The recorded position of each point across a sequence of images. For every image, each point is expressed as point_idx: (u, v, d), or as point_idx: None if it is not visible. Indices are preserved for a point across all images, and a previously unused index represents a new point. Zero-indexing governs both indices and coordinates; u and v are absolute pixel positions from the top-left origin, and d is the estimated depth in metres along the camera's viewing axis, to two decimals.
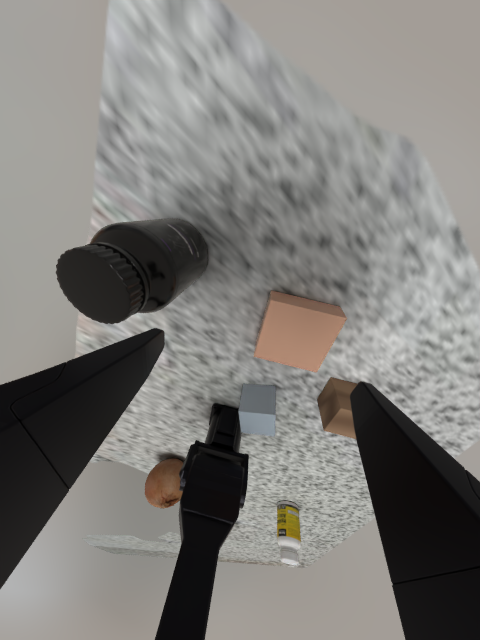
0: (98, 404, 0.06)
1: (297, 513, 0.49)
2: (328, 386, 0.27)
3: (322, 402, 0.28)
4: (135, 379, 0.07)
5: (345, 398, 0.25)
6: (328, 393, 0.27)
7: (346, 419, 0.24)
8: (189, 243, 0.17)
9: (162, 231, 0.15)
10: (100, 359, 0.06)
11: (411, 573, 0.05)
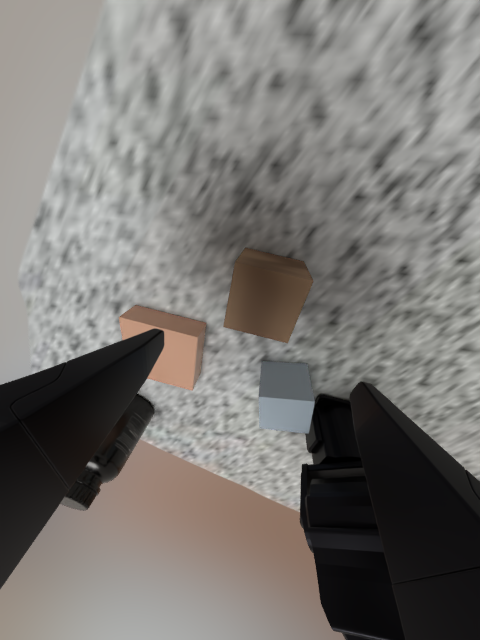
0: (98, 404, 0.06)
1: None
2: None
3: None
4: (135, 379, 0.07)
5: None
6: None
7: (250, 316, 0.14)
8: None
9: None
10: (100, 359, 0.06)
11: (411, 573, 0.05)
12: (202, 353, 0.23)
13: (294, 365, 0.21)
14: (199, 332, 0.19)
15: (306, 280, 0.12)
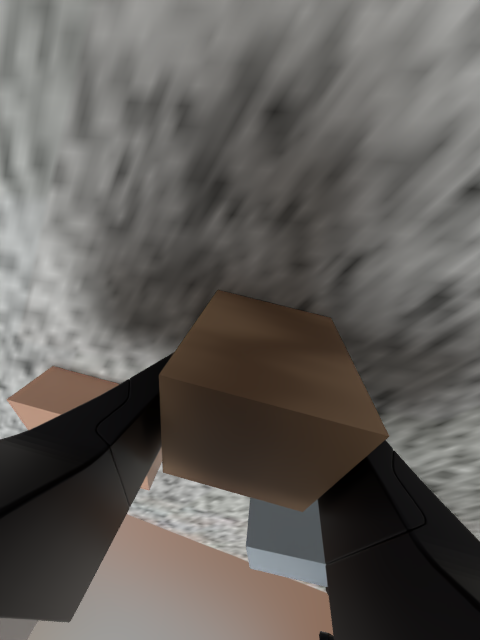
0: (159, 421, 0.06)
1: None
2: None
3: None
4: None
5: None
6: None
7: (217, 467, 0.06)
8: None
9: None
10: None
11: (339, 553, 0.05)
12: None
13: None
14: None
15: (367, 432, 0.04)
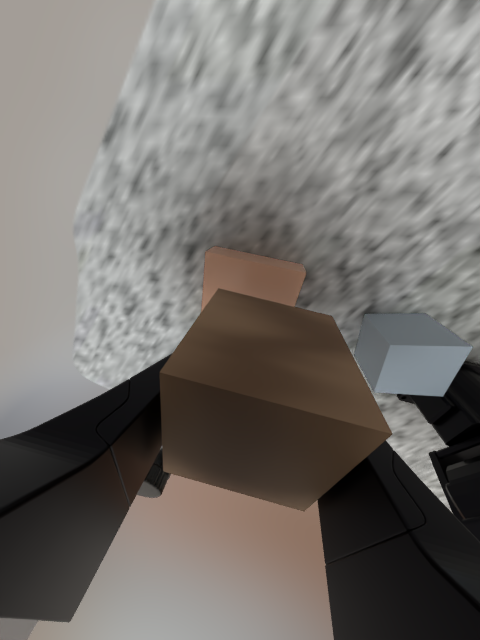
0: (159, 421, 0.06)
1: None
2: None
3: None
4: None
5: None
6: None
7: (218, 466, 0.06)
8: None
9: None
10: None
11: (339, 553, 0.05)
12: None
13: (410, 315, 0.17)
14: (303, 269, 0.16)
15: (370, 430, 0.04)
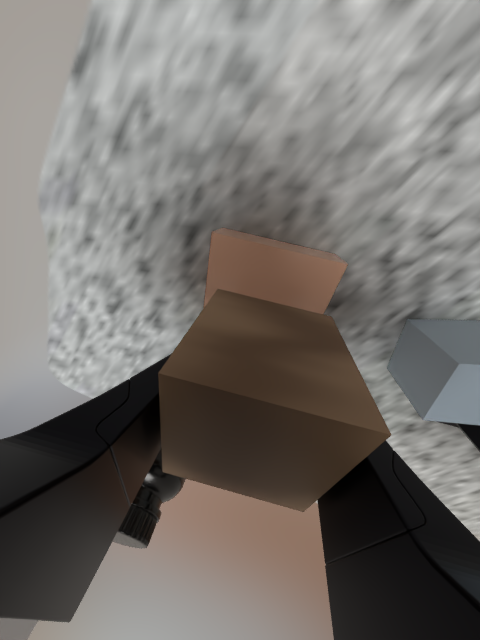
0: (159, 421, 0.06)
1: None
2: None
3: None
4: None
5: None
6: None
7: (218, 467, 0.06)
8: None
9: None
10: None
11: (339, 552, 0.05)
12: None
13: (468, 323, 0.14)
14: (342, 260, 0.12)
15: (369, 430, 0.04)
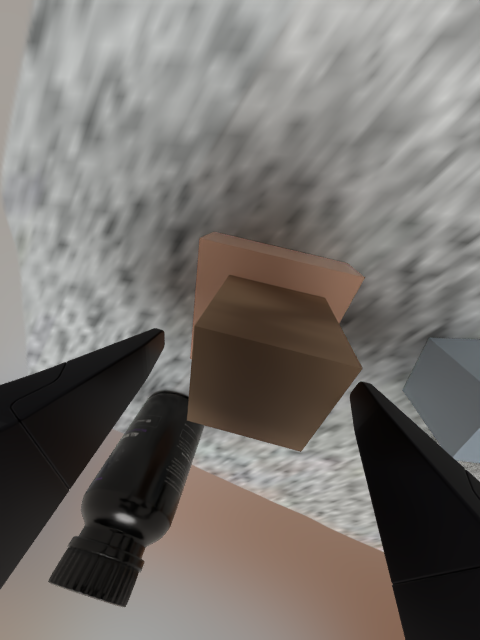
0: (98, 404, 0.06)
1: None
2: None
3: None
4: (135, 379, 0.07)
5: None
6: None
7: (233, 411, 0.08)
8: (132, 430, 0.17)
9: (103, 465, 0.15)
10: (100, 359, 0.06)
11: (411, 573, 0.05)
12: None
13: None
14: (356, 271, 0.10)
15: (347, 366, 0.06)
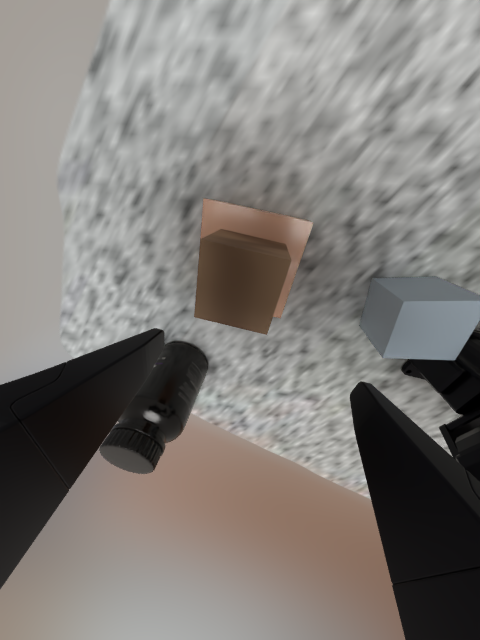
0: (98, 404, 0.06)
1: None
2: None
3: None
4: (135, 379, 0.07)
5: None
6: None
7: (223, 303, 0.12)
8: None
9: None
10: (100, 359, 0.06)
11: (412, 574, 0.05)
12: None
13: (421, 278, 0.16)
14: (310, 221, 0.14)
15: (283, 259, 0.10)
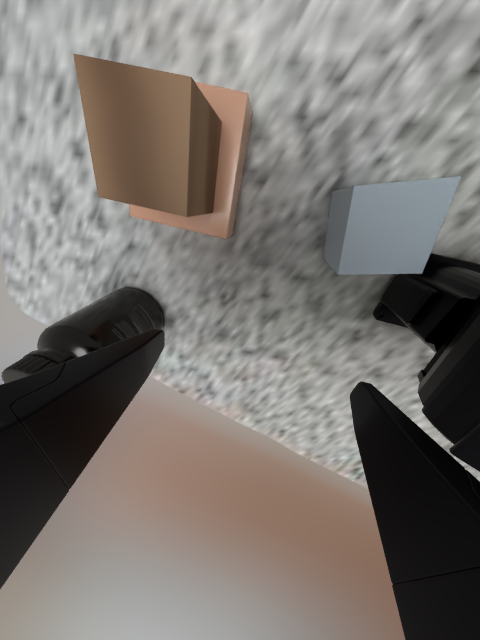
0: (98, 404, 0.06)
1: None
2: None
3: None
4: (135, 379, 0.07)
5: None
6: None
7: (126, 169, 0.10)
8: (90, 304, 0.19)
9: None
10: (100, 359, 0.06)
11: (412, 574, 0.05)
12: None
13: None
14: None
15: (181, 77, 0.08)
